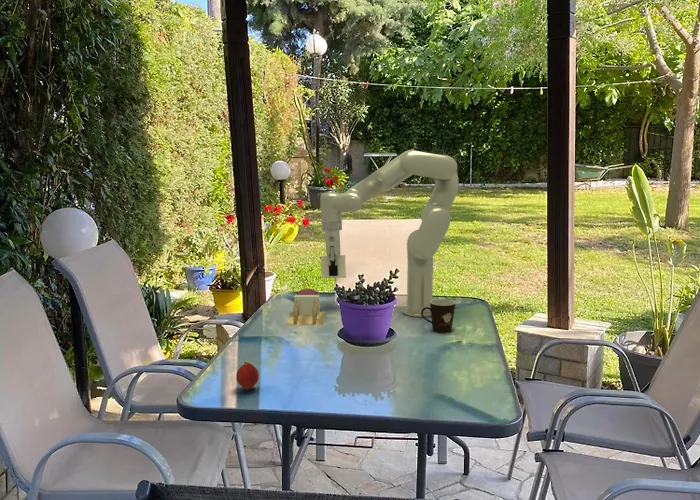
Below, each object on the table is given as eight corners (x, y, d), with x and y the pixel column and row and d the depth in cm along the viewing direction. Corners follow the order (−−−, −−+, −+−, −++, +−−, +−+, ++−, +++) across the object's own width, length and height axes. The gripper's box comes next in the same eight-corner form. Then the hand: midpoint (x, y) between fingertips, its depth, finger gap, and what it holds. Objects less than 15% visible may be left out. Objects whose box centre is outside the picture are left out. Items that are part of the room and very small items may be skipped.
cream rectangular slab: (345, 276, 240) (345, 255, 239) (345, 277, 238) (344, 256, 236) (321, 276, 240) (320, 255, 239) (321, 278, 238) (320, 257, 236)
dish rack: (325, 315, 239) (325, 296, 238) (323, 329, 222) (323, 308, 221) (290, 315, 239) (290, 296, 238) (285, 329, 222) (285, 308, 221)
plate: (319, 313, 236) (319, 294, 235) (319, 315, 234) (319, 296, 233) (295, 313, 237) (294, 295, 235) (294, 315, 234) (294, 296, 233)
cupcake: (293, 308, 249) (293, 278, 247) (301, 302, 257) (301, 273, 255) (314, 309, 247) (313, 279, 245) (321, 304, 255) (321, 274, 253)
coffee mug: (453, 327, 224) (454, 299, 222) (455, 334, 216) (456, 305, 214) (420, 326, 225) (420, 298, 224) (420, 333, 217) (421, 305, 215)
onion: (249, 383, 174) (248, 355, 172) (263, 388, 170) (262, 360, 169) (232, 390, 169) (231, 361, 168) (247, 395, 166) (246, 366, 164)
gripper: (341, 228, 227) (343, 279, 231) (342, 222, 243) (344, 270, 247) (320, 229, 228) (322, 280, 231) (322, 223, 243) (324, 270, 247)
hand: (333, 274), depth 239 cm, fingers closed on cream rectangular slab, 2 cm apart
